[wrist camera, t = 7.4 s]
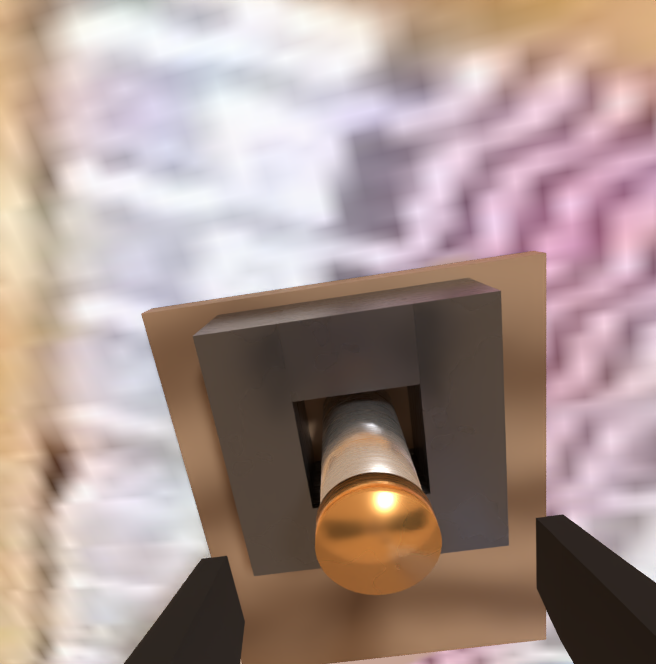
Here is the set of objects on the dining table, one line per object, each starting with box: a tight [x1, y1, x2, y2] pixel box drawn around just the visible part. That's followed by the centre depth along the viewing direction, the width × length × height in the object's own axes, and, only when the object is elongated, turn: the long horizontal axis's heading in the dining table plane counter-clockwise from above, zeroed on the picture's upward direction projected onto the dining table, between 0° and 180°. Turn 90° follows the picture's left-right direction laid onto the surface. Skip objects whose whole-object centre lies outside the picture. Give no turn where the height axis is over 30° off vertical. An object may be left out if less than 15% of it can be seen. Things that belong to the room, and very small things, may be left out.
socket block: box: [193, 278, 509, 576], centre depth 15 cm, size 10×10×3 cm
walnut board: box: [141, 251, 546, 664], centre depth 18 cm, size 20×16×1 cm
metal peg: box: [315, 389, 442, 595], centre depth 13 cm, size 3×3×7 cm
